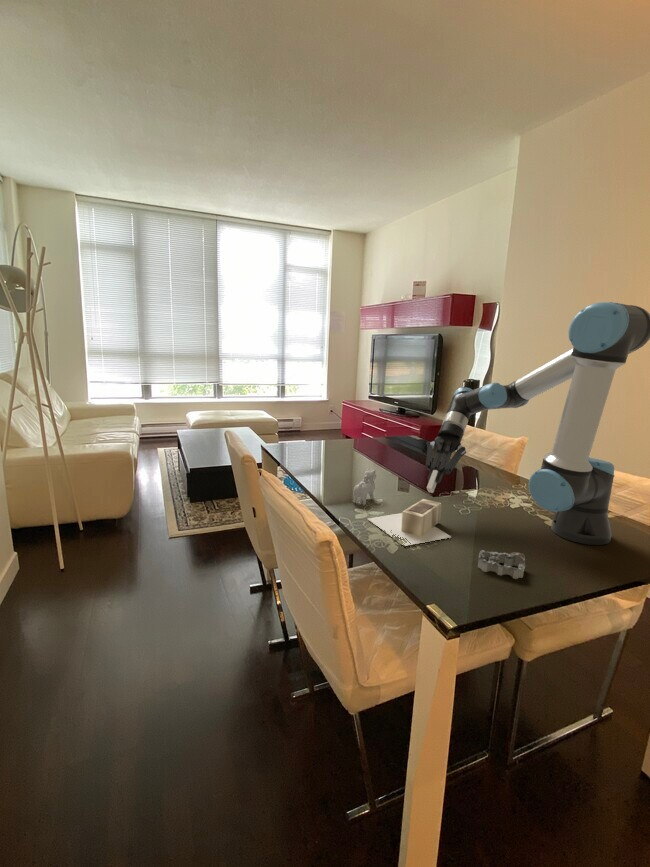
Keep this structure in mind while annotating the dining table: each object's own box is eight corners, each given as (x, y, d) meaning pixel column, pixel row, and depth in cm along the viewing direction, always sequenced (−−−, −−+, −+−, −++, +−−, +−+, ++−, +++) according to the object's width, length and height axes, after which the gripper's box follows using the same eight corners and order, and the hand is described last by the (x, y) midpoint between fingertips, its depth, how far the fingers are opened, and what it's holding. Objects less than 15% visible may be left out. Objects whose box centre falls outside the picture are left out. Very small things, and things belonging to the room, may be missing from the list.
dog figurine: (378, 496, 154) (380, 468, 152) (365, 507, 143) (366, 476, 141) (365, 493, 156) (366, 465, 154) (350, 504, 145) (351, 474, 143)
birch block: (441, 502, 129) (421, 516, 119) (440, 521, 131) (420, 536, 120) (423, 498, 133) (402, 510, 122) (422, 516, 134) (401, 530, 123)
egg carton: (525, 569, 105) (527, 553, 104) (522, 583, 98) (524, 566, 98) (480, 557, 110) (481, 543, 109) (475, 570, 103) (476, 555, 103)
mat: (451, 538, 120) (451, 536, 120) (404, 547, 114) (404, 546, 114) (409, 513, 138) (410, 511, 138) (367, 520, 132) (367, 518, 132)
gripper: (474, 438, 138) (453, 501, 128) (436, 432, 145) (413, 491, 135) (471, 424, 132) (448, 488, 122) (431, 419, 140) (406, 480, 130)
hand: (429, 490), depth 129 cm, fingers closed
